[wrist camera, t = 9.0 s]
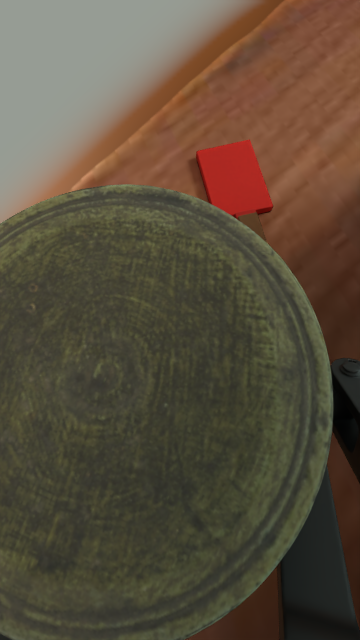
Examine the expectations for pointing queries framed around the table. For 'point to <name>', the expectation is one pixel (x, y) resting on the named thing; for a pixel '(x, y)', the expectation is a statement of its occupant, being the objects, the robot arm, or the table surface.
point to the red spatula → (235, 182)
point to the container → (149, 415)
